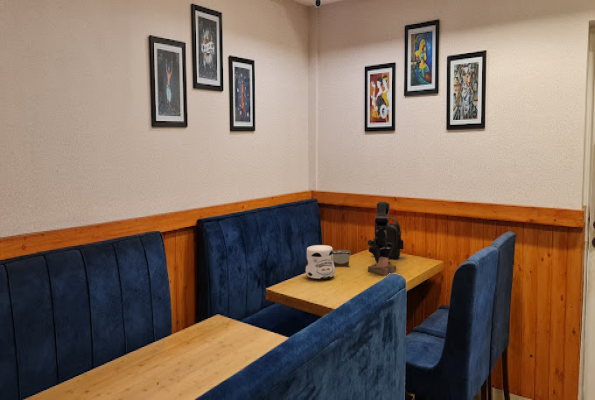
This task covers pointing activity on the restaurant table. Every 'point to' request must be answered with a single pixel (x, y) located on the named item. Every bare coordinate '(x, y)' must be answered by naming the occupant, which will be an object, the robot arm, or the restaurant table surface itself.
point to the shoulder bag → (394, 240)
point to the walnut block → (381, 269)
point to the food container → (341, 258)
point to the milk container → (320, 262)
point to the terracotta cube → (382, 262)
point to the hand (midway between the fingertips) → (381, 261)
